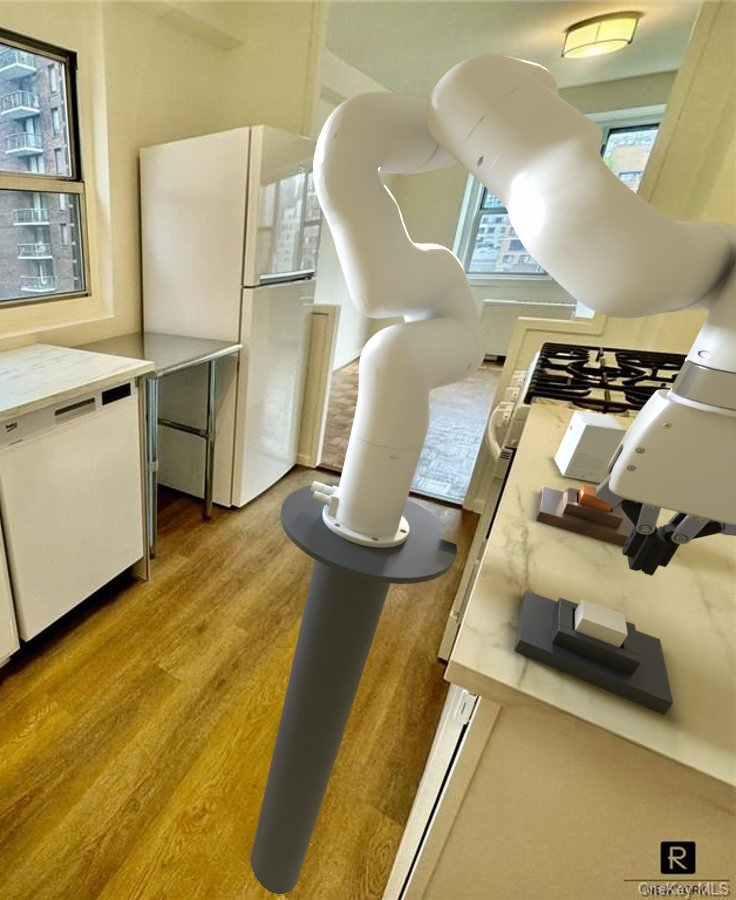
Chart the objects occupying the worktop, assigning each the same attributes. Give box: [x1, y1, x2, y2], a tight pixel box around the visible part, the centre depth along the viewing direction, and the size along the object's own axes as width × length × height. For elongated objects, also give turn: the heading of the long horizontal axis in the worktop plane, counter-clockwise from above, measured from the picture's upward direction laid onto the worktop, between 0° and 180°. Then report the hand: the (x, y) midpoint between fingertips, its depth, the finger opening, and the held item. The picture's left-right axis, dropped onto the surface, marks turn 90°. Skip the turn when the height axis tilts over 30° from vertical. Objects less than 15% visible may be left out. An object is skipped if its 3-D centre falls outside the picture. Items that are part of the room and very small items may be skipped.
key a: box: [574, 599, 628, 648], centre depth 52 cm, size 4×4×2 cm
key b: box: [578, 484, 612, 512], centre depth 74 cm, size 4×4×2 cm
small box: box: [554, 410, 627, 484], centre depth 88 cm, size 8×6×10 cm
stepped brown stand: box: [535, 486, 634, 547], centre depth 75 cm, size 12×10×4 cm
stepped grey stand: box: [514, 590, 674, 715], centre depth 53 cm, size 12×10×4 cm
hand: (639, 565), depth 48 cm, fingers closed
